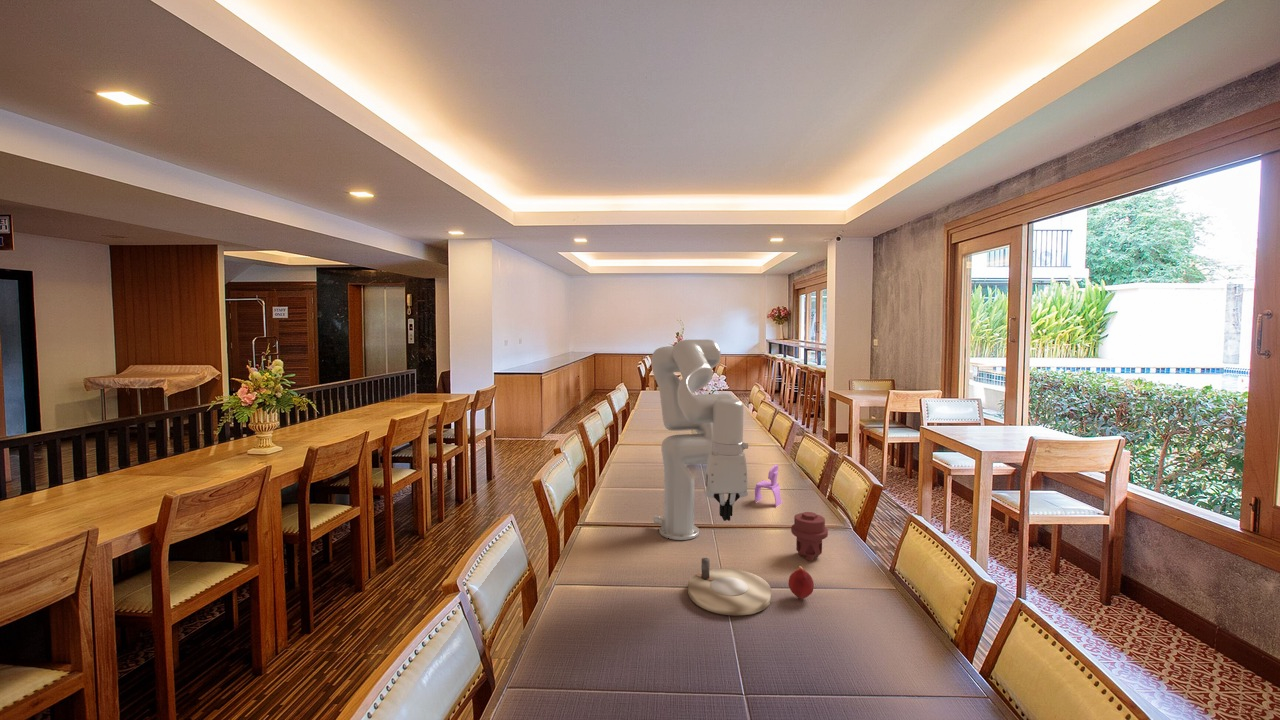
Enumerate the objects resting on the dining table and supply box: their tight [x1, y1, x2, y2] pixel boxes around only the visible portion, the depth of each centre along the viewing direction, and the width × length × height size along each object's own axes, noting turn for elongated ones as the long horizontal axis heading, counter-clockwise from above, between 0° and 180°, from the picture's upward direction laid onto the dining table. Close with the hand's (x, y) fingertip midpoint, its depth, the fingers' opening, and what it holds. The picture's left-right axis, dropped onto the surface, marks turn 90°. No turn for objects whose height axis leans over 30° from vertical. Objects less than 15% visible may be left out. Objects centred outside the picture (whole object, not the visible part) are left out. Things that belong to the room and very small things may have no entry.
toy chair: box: [754, 464, 783, 508], centre depth 199 cm, size 8×9×15 cm
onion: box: [788, 565, 815, 600], centre depth 128 cm, size 6×6×8 cm
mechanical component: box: [790, 511, 829, 562], centre depth 152 cm, size 12×10×10 cm
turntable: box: [687, 557, 772, 616], centre depth 130 cm, size 20×20×6 cm
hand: (725, 518), depth 135 cm, fingers closed
